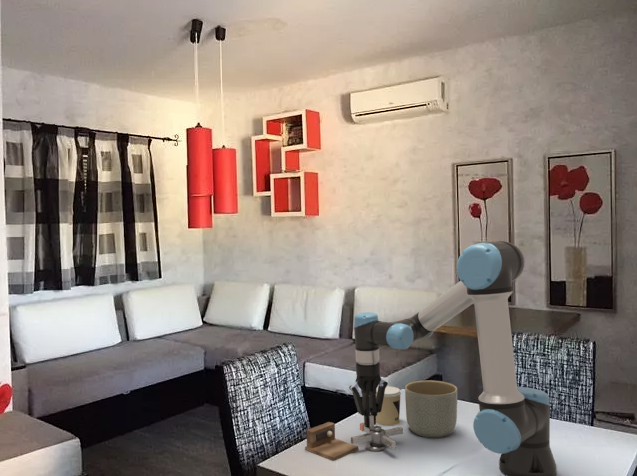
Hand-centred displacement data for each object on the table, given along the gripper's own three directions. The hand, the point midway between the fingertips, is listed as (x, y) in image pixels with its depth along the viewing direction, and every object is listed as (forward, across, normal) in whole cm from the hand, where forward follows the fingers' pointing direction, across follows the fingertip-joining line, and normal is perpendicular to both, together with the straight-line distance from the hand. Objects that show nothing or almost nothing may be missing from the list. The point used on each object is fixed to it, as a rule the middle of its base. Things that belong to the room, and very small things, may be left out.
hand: (370, 435), depth 187 cm
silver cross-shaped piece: (+1, +1, +6) cm, 7 cm away
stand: (+2, +9, +4) cm, 10 cm away
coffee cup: (+3, -13, -12) cm, 18 cm away
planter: (+3, -22, +2) cm, 22 cm away
